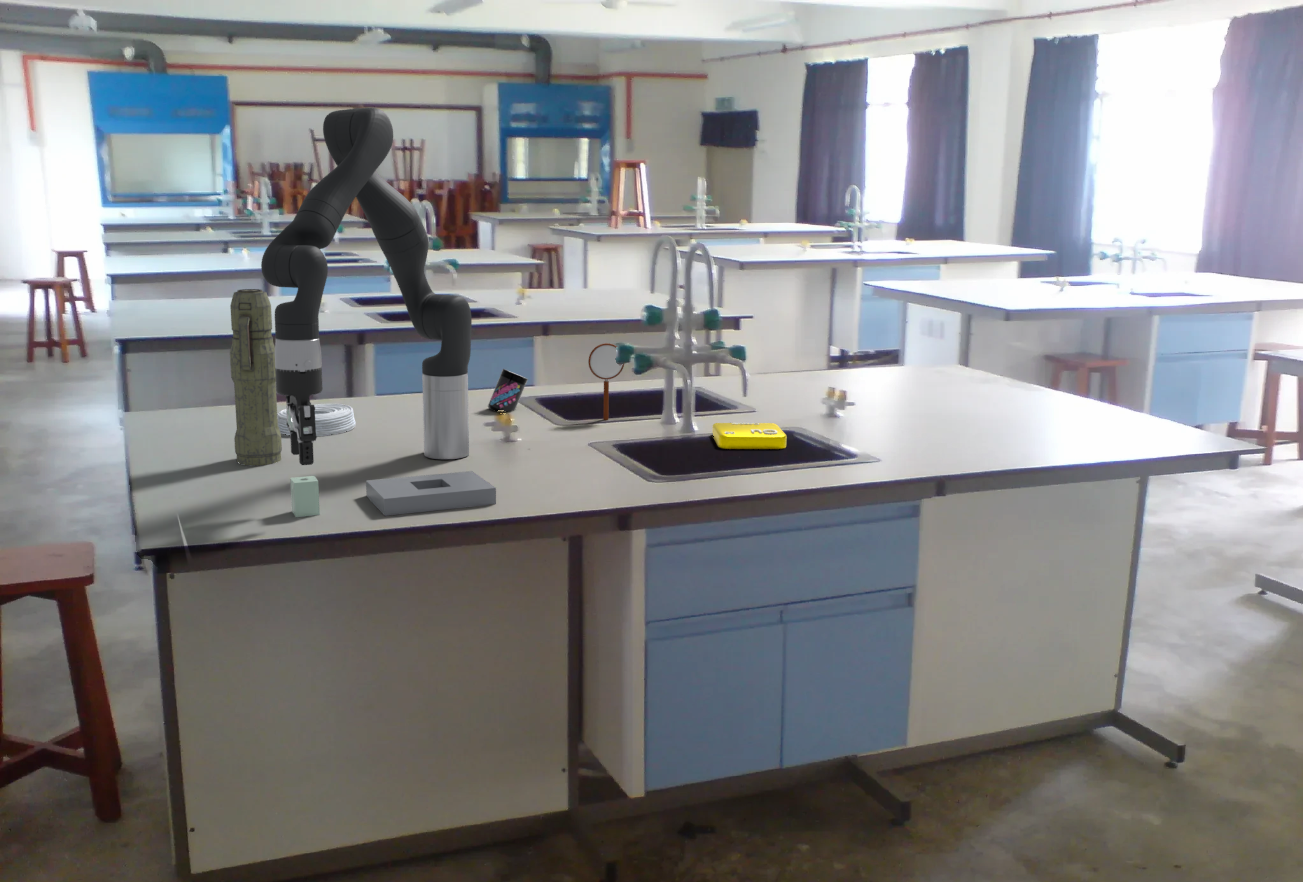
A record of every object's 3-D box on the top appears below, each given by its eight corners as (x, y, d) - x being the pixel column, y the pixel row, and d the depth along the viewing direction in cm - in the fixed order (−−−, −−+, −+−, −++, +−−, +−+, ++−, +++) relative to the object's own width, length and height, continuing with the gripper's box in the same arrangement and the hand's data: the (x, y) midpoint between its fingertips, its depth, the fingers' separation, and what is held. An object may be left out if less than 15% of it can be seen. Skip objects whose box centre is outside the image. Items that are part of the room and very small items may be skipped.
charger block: (291, 511, 203) (290, 477, 202) (315, 509, 204) (314, 475, 203) (295, 517, 199) (294, 483, 198) (319, 514, 201) (318, 480, 200)
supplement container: (481, 405, 289) (497, 366, 289) (500, 411, 294) (516, 373, 294) (498, 413, 285) (515, 373, 284) (517, 420, 290) (533, 381, 290)
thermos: (231, 471, 230) (220, 292, 223) (241, 457, 242) (231, 287, 234) (277, 470, 232) (268, 292, 225) (285, 456, 243) (277, 287, 236)
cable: (366, 429, 274) (366, 403, 273) (340, 444, 257) (339, 417, 256) (294, 426, 276) (293, 401, 275) (263, 441, 259) (262, 414, 258)
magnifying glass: (623, 425, 282) (624, 342, 278) (624, 426, 281) (625, 343, 276) (587, 425, 281) (588, 343, 277) (588, 427, 279) (589, 343, 275)
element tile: (775, 441, 269) (776, 420, 268) (787, 455, 255) (788, 434, 254) (710, 441, 268) (711, 420, 267) (719, 455, 254) (719, 433, 253)
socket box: (366, 496, 213) (365, 480, 213) (472, 486, 222) (472, 470, 221) (384, 515, 201) (384, 498, 200) (496, 504, 209) (495, 487, 209)
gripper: (269, 360, 201) (273, 452, 204) (282, 371, 189) (286, 469, 192) (313, 358, 204) (317, 449, 208) (329, 369, 192) (332, 466, 195)
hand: (302, 459), depth 200 cm, fingers open, 8 cm apart
